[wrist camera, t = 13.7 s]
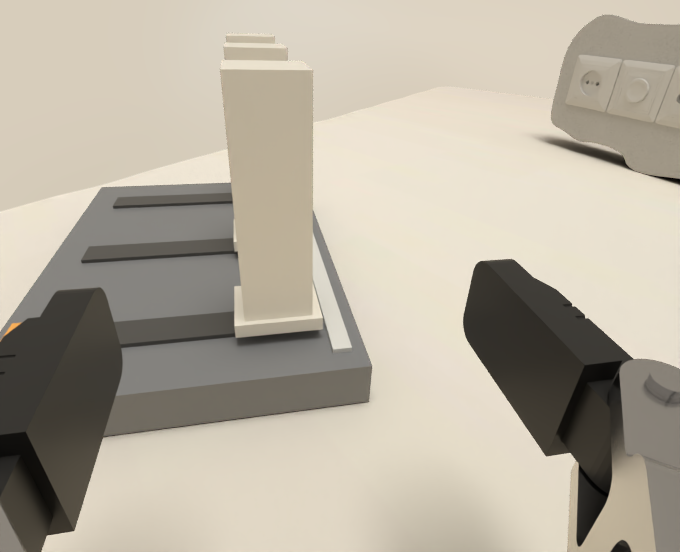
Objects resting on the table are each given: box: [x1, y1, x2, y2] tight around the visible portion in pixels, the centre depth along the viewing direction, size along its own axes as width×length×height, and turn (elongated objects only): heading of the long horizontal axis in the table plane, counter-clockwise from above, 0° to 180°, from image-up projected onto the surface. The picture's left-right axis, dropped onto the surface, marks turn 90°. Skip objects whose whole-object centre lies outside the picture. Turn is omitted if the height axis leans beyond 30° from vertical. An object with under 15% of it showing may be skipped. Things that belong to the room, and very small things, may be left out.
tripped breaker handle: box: [220, 60, 323, 338], centre depth 17 cm, size 4×3×10 cm
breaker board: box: [0, 33, 372, 436], centre depth 23 cm, size 15×22×12 cm
